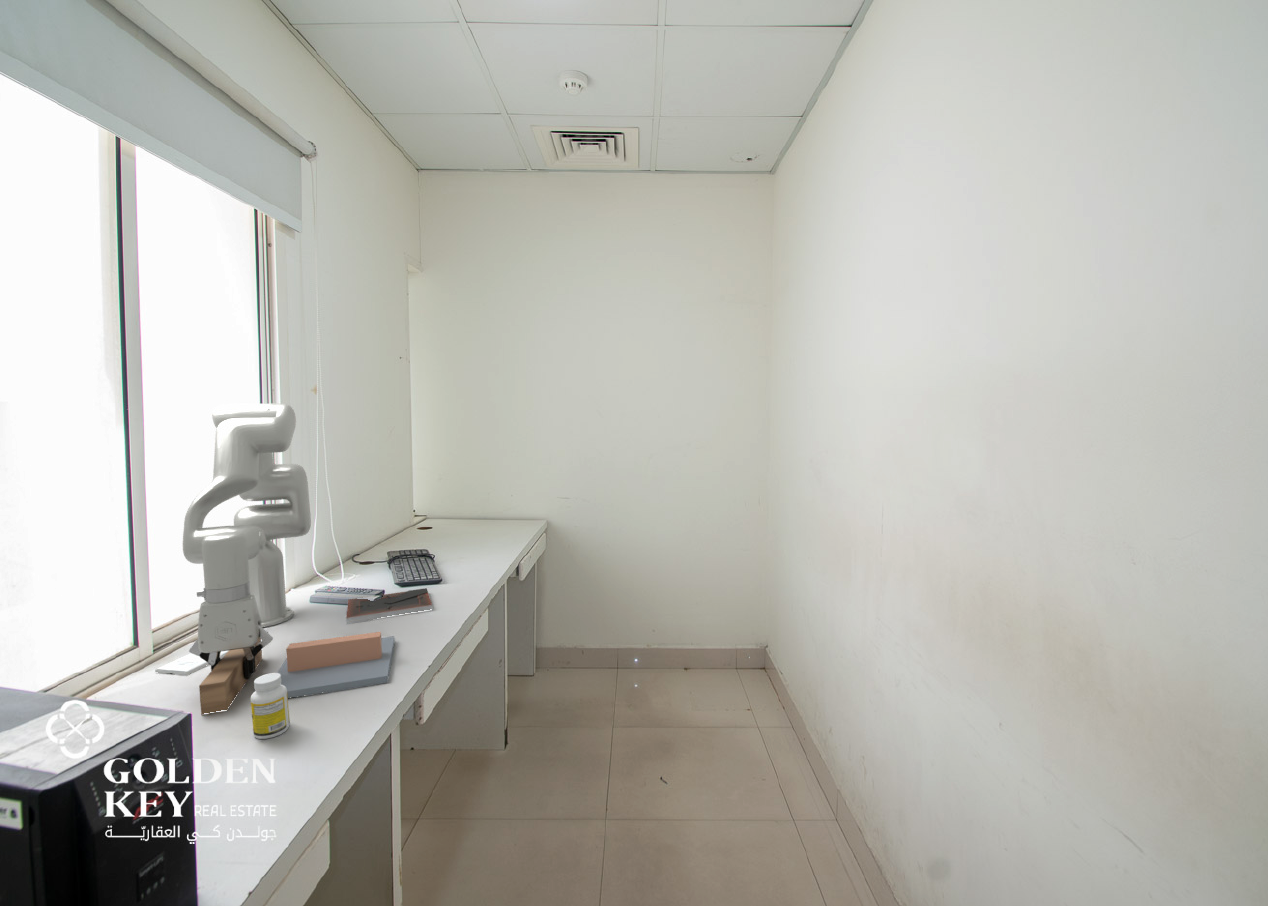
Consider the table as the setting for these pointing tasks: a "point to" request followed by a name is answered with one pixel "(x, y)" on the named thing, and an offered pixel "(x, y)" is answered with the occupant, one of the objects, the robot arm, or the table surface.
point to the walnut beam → (225, 681)
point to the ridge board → (336, 664)
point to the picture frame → (388, 605)
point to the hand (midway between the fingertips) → (234, 677)
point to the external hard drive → (186, 664)
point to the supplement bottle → (269, 706)
